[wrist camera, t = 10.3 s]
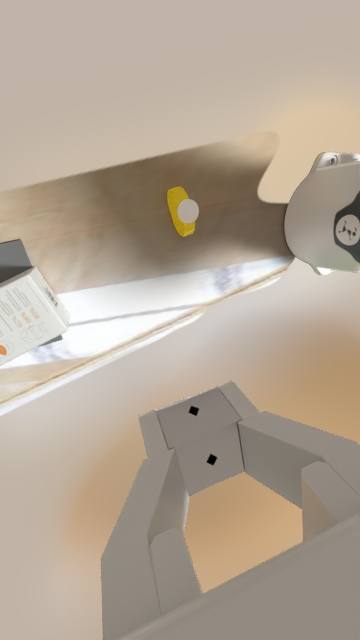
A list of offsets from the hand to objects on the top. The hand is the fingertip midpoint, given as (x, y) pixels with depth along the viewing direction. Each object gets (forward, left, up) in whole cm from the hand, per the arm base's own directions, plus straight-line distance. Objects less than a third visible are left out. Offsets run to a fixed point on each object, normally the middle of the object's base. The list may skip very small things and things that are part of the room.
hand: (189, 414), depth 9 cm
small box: (+8, +2, -30) cm, 31 cm away
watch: (-10, -4, -33) cm, 35 cm away
